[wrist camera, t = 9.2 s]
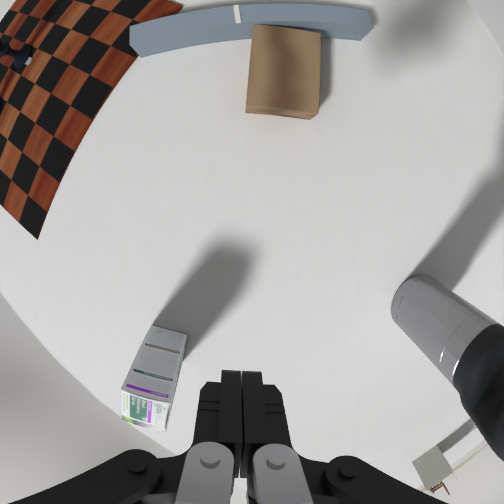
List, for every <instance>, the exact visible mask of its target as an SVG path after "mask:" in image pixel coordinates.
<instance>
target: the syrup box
mask: <svg viewBox="0 0 504 504" xmlns="http://www.w3.org/2000/svg"><path fill="white" fill-rule="evenodd" d="M186 340H187V335H186V334H182V333H179V332H175V331H172V330H168V329H164V328H160V327H157V326H153V325H151V327H150V329H149V331H148V332H147V334H146V336H145V338H144V340H143V342H142V344H141V346H140V349H139V351H138V353H137V355H136V357H135V359H134V361H133V363H132V366H131V368H130V370H129V372H128V375H127V377H126V379H125V381H124V383H123V385H122V388H121V418H122V419H123V420H125V421H127V422H130V423H133V424H135V425H139V426H142V427H145V428H149V429H154V430H159V431H164V432H166V429H167V425H168V421H169V416H170V412H171V408H172V404H173V399H174V395H175V391H176V386H177V382H178V378H179V374H180V369H181V365H182V361H183V356H184V351H185V345H186Z"/></svg>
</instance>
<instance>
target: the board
mask: <svg viewBox="0 0 504 504" xmlns="http://www.w3.org/2000/svg"><path fill="white" fill-rule="evenodd" d="M254 24H258V25H268V26H277V27H285V28H292V29H299V30H305V31H310V32H316V33H321V38H336V39H348V40H357V41H361V40H362V39H363V38H364V37H365V36H366V35H367V34H368V33H369V32H370V31H371V30H372V29H373V28H374V27H373V24H372V21H371V18H370V15H369V12H368V10H362V9H356V8H348V7H340V6H331V5H319V4H300V3H265V4H246V5H233V6H225V7H216V8H209V9H202V10H196V11H191V12H185V13H180V14H175V15H171V16H166V17H162V18H158V19H154V20H150V21H147V22H143V23H139V24H136V25H133V26H130V46H131V47H132V48H133V49H134V50H135V51H136V52H137V54H138V55H139V56H140V57H141V58H142V57H146V56H150V55H154V54H158V53H162V52H166V51H171V50H175V49H180V48H185V47H190V46H196V45H202V44H208V43H215V42H223V41H231V40H241V39H252V35H253V26H254Z"/></svg>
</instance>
